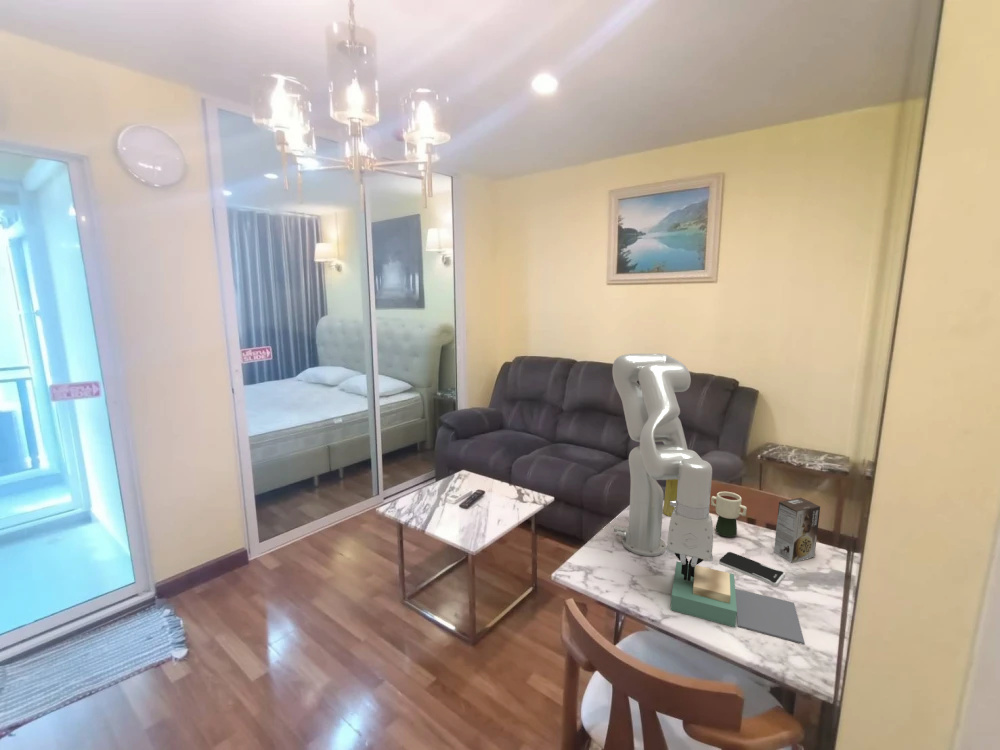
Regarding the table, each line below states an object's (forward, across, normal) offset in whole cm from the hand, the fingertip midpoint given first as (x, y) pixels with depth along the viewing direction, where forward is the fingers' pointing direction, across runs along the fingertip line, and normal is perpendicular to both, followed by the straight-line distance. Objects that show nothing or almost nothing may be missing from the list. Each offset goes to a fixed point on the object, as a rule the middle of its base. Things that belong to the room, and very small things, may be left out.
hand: (687, 577), depth 115 cm
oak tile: (+1, +6, 0) cm, 6 cm away
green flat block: (+5, +4, 0) cm, 6 cm away
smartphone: (+6, +16, +20) cm, 26 cm away
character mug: (+5, +9, +39) cm, 41 cm away
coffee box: (+5, +27, +35) cm, 44 cm away
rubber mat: (+5, +18, +1) cm, 19 cm away
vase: (+5, -8, +47) cm, 48 cm away
